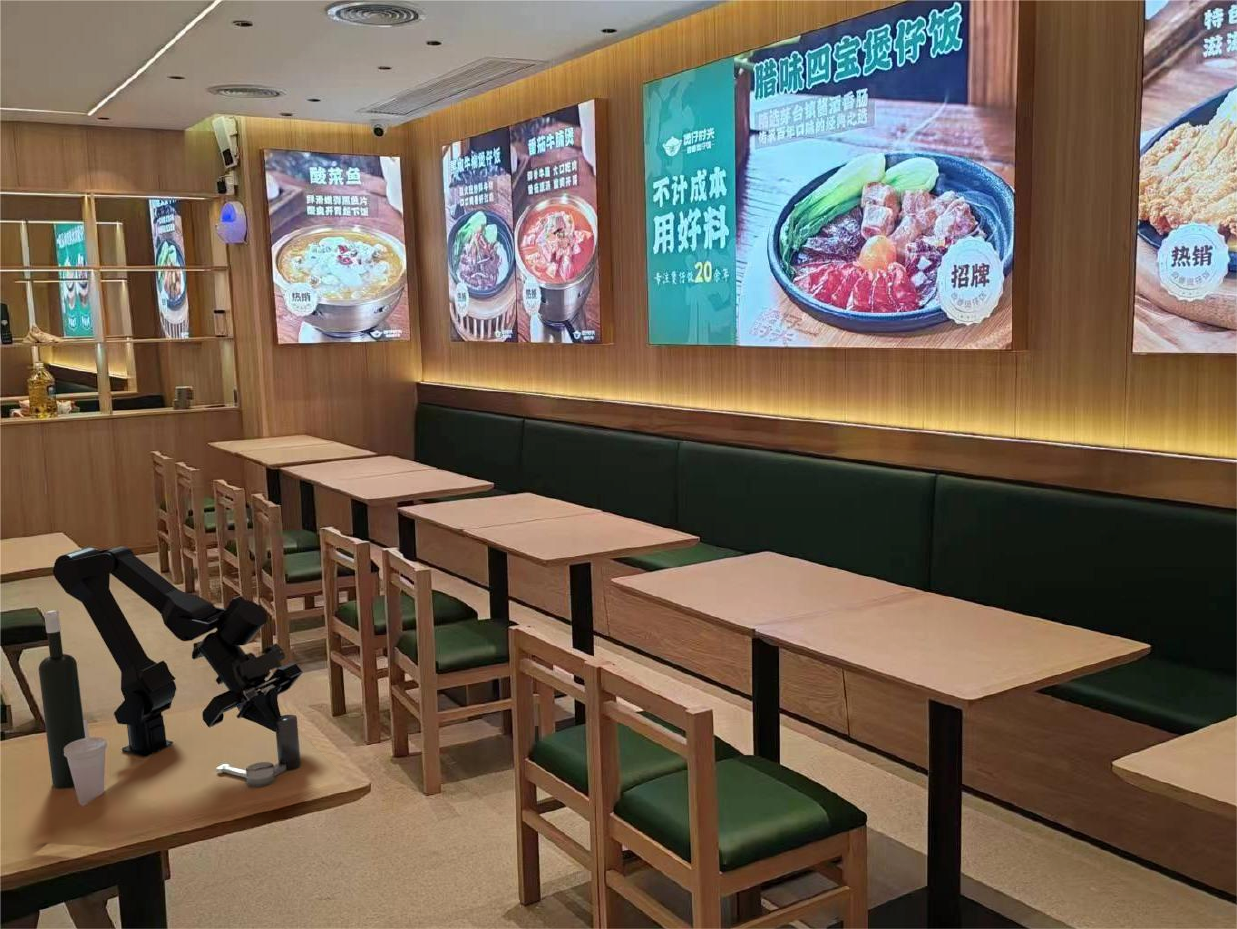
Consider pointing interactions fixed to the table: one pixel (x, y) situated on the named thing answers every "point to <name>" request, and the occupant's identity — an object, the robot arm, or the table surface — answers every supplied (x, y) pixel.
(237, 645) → the robot arm
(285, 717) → the dial
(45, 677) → the wine bottle
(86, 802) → the smoothie
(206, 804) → the table surface
